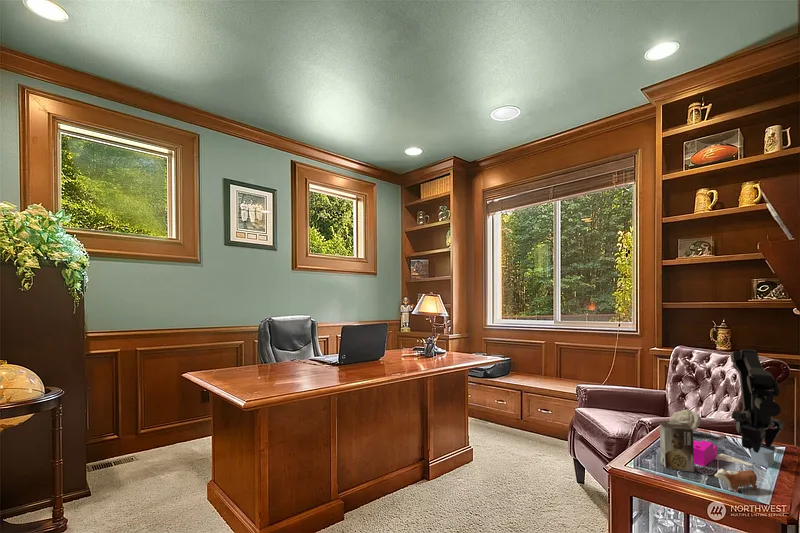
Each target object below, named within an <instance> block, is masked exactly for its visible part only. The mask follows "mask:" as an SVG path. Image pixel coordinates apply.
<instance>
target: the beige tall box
mask: <svg viewBox="0 0 800 533" xmlns="http://www.w3.org/2000/svg"><path fill="white" fill-rule="evenodd" d="M659 438H660V439H659V444H660V445H659V449H660V451H659V452H660V463H661V465H662V466H663V465H664V466H663V467H664V468H665V469H669V468H670V469H669V470H671V469H672V470H677V471H685V472H692V473H693V472H695V464H694V450H693V441H694V431H693V429H692V428H691V427H690V426H689V425H688V424H687V423H678V422H670V421H666V420H665V421H664V420H659Z"/></svg>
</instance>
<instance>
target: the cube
mask: <svg viewBox="0 0 800 533" xmlns="http://www.w3.org/2000/svg"><path fill="white" fill-rule="evenodd" d="M750 463H752V464H753V463H754V464H756V465H759V466H763V467H766V468H770V467H771V466H773V464H774V465H775V451H774V450H773V449H770V448H767V447H762V446H761V448H760V450H759V452H758V453H756V452H754V450H753V448H751V449H750Z"/></svg>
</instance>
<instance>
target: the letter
mask: <svg viewBox="0 0 800 533" xmlns="http://www.w3.org/2000/svg"><path fill="white" fill-rule="evenodd" d="M714 460H717V461H719V460H720V461H724V462H730V463H734V464H739V465H745V466H754V464H753V463H752V462H748V461H746V460H743V459H742V460H741V459H739V458H737V457H733V456H730V455H727V454H724V453H720V454H717V457H716V458H715V459H714Z"/></svg>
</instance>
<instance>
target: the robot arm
mask: <svg viewBox="0 0 800 533" xmlns="http://www.w3.org/2000/svg"><path fill="white" fill-rule="evenodd" d="M730 362H731V363H732V365H733V368H734V370H736V372H737V373H738V375H739V385H740V386H739V387H740V393H741V394H740V395H741V401H742V402H741V403H742V404H741V405H742V410H741V411H740V410H733V411H732V413H731V418H732V419H733V420H734V421H735V422H736V424H735V429H736V431H737V432H738V433H737V434H739V435H741V447H742V448H744V449H749V450H751V448H753V450H754V452H756V453H758V452H759V450H760V448H761V447H762V445H763V443H765V446H766V447H765V448H771V447H772V445H773V444H774V442H775V440H776V439H777V437H779V436H778V435H779V434H780V433H781V432H782V429H784V422H783V421H782V420H780V419H777V418H773V417H777V416H778V415H780V413H781V410H782V409H781V406H780V404H778V402H776V401H775V400H774V397H779V396H780V392H781V391H780V389H779V384H778V381H777V380H776V378H774V376H773V375H772V374H771V372H770V371H768V370H766V369H764V367H763V365H762V363H761V361H760V357H759V353H758V351H757V350H755V349H740V350H737V351H732V353H731V354H730Z"/></svg>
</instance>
